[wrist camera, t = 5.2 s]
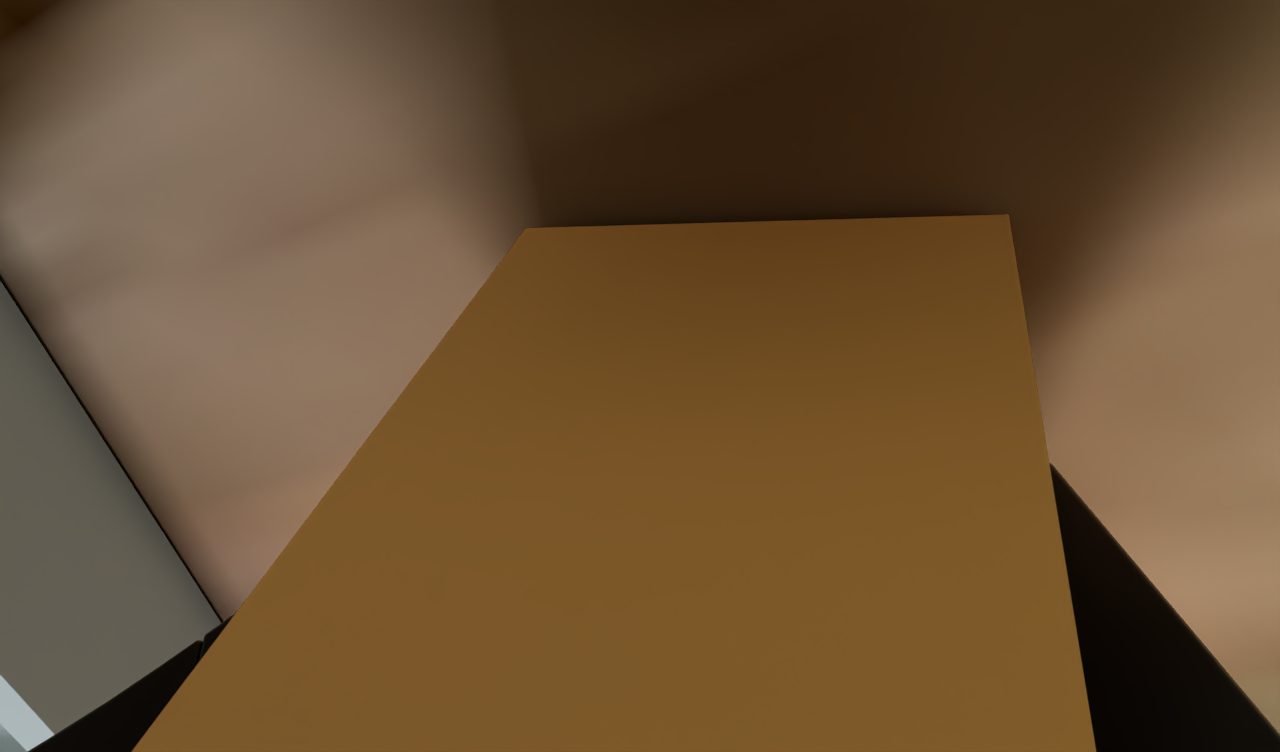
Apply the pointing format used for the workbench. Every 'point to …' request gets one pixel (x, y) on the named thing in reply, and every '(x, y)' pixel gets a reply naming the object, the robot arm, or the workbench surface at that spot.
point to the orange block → (684, 516)
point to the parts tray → (74, 557)
